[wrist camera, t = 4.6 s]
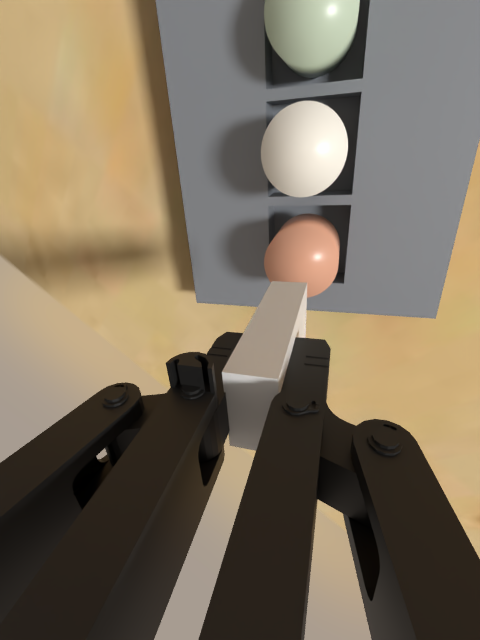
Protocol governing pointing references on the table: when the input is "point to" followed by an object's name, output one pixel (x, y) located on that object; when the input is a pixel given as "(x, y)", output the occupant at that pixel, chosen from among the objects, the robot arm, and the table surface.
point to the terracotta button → (304, 253)
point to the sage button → (311, 33)
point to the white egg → (304, 149)
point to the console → (362, 157)
